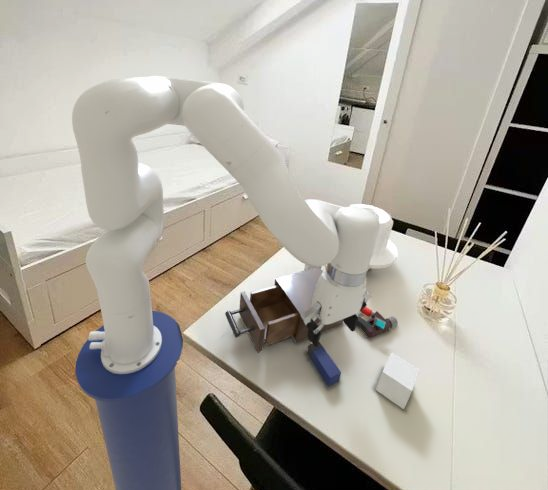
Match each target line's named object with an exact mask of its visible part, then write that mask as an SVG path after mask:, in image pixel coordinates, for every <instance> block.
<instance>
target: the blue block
mask: <svg viewBox="0 0 548 490" xmlns="http://www.w3.org/2000/svg"><path fill="white" fill-rule="evenodd" d="M306 355H307V357H308V358H309V360H310V361H311V363H312V365H313V366H314V368H315V369H316V371H317V372H318V374H319V376H320V377H321V379H322V380H323V382H324V383H325V385H326V387H327V388H329V387H331V386H333V385H335V384H337V383H339V381H340V379H341V376H342V375H341V374H342V372H341V370H340V369H339V367H338V366H337V364H336V363H335V362H334V360H333V359H332V357H331V356H330V354H329V353H328V352H327V350H326V349H325V347H324V345H322V343H321V342H320V341H319V345H318V347H315V346H314V345H313V343H312V342H311V343H310V344H308V345H307V350H306Z"/></svg>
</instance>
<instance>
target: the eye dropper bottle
mask: <svg viewBox="0 0 548 490" xmlns="http://www.w3.org/2000/svg"><path fill="white" fill-rule="evenodd" d="M317 267H320V269H321V270H322V267H323V266H317ZM317 267H316V266H310V265H307V264H304V269H303V271H305V270H309V269H313V268H317Z"/></svg>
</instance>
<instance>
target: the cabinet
mask: <svg viewBox="0 0 548 490" xmlns="http://www.w3.org/2000/svg"><path fill="white" fill-rule="evenodd" d="M323 272H324V271H323V269H322V268H321V269H320V267H317V268H313V269H309V270H305V271H304V270H302V271H297V272H295V273H291V274H287V275H283V276H280V277H276V278H274V285H273V286H275V285H278V286H279V287H280V289H281V290H282V292H283V293H284V295H285V296H286V297H287V299H288V300H289V302H290V303H291V305H292V306H293V307H294V309H295V310H296V312H297V313H298V315H299V320H298V325H297V331H296V335H293V336H291V337H292V338H293V340H294V342H295V343H300V342H303V341H304V340H308V337H307V334H308V328H307V327H306V325H305V324H304V322H303V321H302V319H301V317H300V316H301V314H303V313H304V312H305V311H307V310H308V309H309V308H311V304H312V299H313V295H314V292H315V289H316V286H317V283H318V281H319V278H320V276H321V274H322V273H323ZM343 320H344V319H342V320H339V321H337V322H334V323H331V324H328V325H324V326H323V327H322V329H321V330H320V332H321V334H322V333H325V332H327V331H330V330H333V329H336V328H337V327H341V326H342V325H343V323H344V322H343ZM314 322H315V323H316V325H317V324H318V323H319V322H320V320H319V319H318V317H317V319H316V320H315V321H314Z"/></svg>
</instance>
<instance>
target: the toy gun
mask: <svg viewBox="0 0 548 490" xmlns="http://www.w3.org/2000/svg"><path fill="white" fill-rule="evenodd" d="M361 313H362V314H361V315H363V316H366V317H367V318H370V319H368V320H365V319H364V318H363V317H362V316H359V317H358V321H357V325H356V328H359V330H361V331H362V332H363V333H364V335H365V336H366V338H369V339H373V338H374V337H377V336H379V335H381V334H384V333H386V332H388V331H390V329H392V328H395V327H397V326H398V325H399V324H398V322H399V321H398V319H397V318H396V317H395V316H394V315H393V316H389V317H387V318H385V317H384V316H383V315H382V314H381V313H380V312H379V311H378V310H377V311H373V309H370V308H369V307H367V306H366V307H365V308H364V309H363V310H362V311H361Z"/></svg>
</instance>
